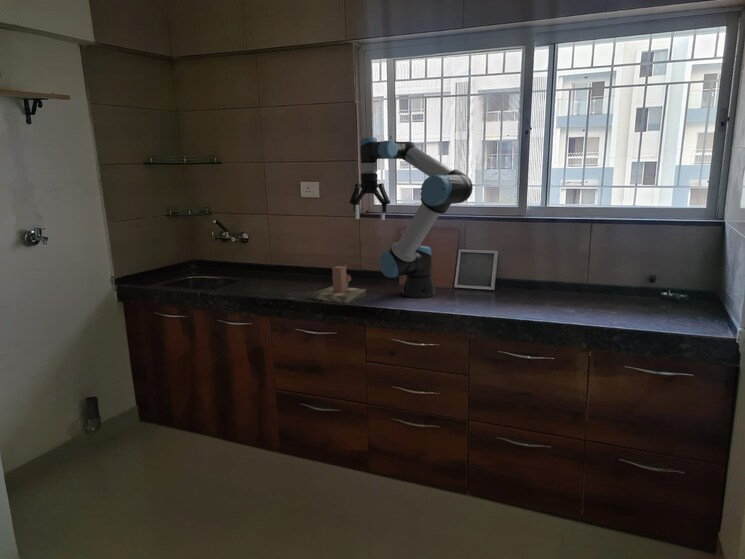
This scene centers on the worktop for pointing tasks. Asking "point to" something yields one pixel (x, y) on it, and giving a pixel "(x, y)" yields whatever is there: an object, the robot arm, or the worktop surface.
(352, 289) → the well block
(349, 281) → the cupcake
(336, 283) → the bracket bar
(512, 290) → the worktop surface
